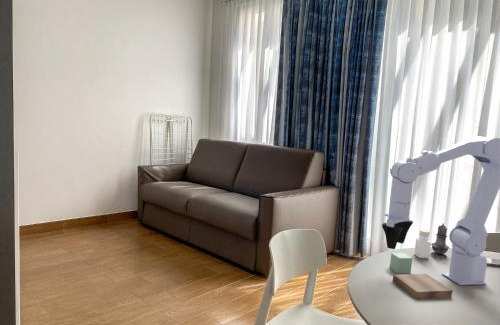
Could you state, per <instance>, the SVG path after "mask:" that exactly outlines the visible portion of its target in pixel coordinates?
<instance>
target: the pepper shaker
mask: <svg viewBox="0 0 500 325" xmlns="http://www.w3.org/2000/svg"><path fill="white" fill-rule="evenodd" d="M430 232H431V231H430V230H427V229H422V228H421V229H419V234H418V235H419V236H418V237H417V238H416V239H415V245H414V251H413V252H414V255H415V256H416V257H417V258H419V259H429V258H430V255H431V252H430V251H431V247H432V245H431V244H432V242H431V240H429V238H430Z"/></svg>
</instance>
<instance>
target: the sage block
mask: <svg viewBox="0 0 500 325" xmlns="http://www.w3.org/2000/svg"><path fill="white" fill-rule="evenodd" d="M412 264H413V257H412V256H410V255H409V254H407V253H405V252H391V255H390V263H389V269H391V270H392V269H393V270H392V271H394V272H397V273H396V274H412V273H411V272H412Z"/></svg>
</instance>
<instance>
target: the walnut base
mask: <svg viewBox="0 0 500 325" xmlns="http://www.w3.org/2000/svg"><path fill="white" fill-rule="evenodd" d="M392 275H393V276H392V282H394V284H396V285H397V286H399V287H400V288H401V289H402V290H403V291H405V292H406V293H408V294H409V295H410V296H412V297H413V298H414V299H416V300H421V299H422V300H424V299H443V298H444V299H445V298H452V295H453V289H451V288H449V287H448V286H446V284H445V285H444V284H443V283H442V282H440V281H438V280H437V279H435V278H434V277H432V276H430V275H429V274H427V273H399V274H392Z"/></svg>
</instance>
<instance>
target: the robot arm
mask: <svg viewBox="0 0 500 325" xmlns="http://www.w3.org/2000/svg"><path fill="white" fill-rule="evenodd" d="M464 156H472V158H474V159H475V160H476V161H477V162H479V164H480V166H481V167H482V169H483V171H482V173H481V177H480V178H479V181H478V184H477V187H476V188H475V191H474V194H473V196H472V200H470V203H469V206H468V208H467V211H466V214H465V215H464V217H463V218H462V219H460V220H458V221H457V223H456V225H455V226H454V228H452V229H451V230H450V231H449V232H450V233H449V241H450V242H451V244H452V245H451V247H452V249H451V256H450V263H449V269H448V272H442V274H441V275H442V276H444V277H446V278H448V279H449V280H451V281H453V283H456V284H458V285H460V286H471V285H476V286H477V285H487V282H486V281H485V278H486V272H487V267H488V266H487V265H488V261H487V257H486V256H485V254H484V253H483V252H484V251H485V250H486V249H487V248H486V247H487V238H488V235H489V233H488V230H487V228H486V227H485V224H486V222H487V219H488V218H489V214H490V213H491V210H492V207H493V205H494V202H495V200H496V198H497V195H498V193H499V190H500V137H486V136H482V135H476V136H475V135H474V137H472V138H471V137H470V138H467V139H464V140H462V141H460V142H458V143H455V144H453V145H451V146H448V147H447V148H444V149H441V150H440V151H437V152H434V151H431V150H430V151H428V150H423V151H421V154H418V155H416V156H414V157H413V156H412V157H407V158H406V160H405V161H404V160H398V161H396V162H395V163H393V165H392V166H391V168H390V170H389V173H390V175H391V177H392V183H391V190H390V191H391V192H390V201H389V209H388V212H385V213H384V217H387V219H386V222H383V223H382V224H381V227H382V229H383V232H384V235H385V241H386V249H387V248H388V249H391V250H395V249H396V247H397V243H398V244H402V245H403V244H404V243H405V241H406V238H407V234H408V232H409V230H410V228H411V227H412V226H413V225H414V224H413V223H414V221H413V220H410V219H411V218H410V215H411V214H410V213H411V212H410V211H411V203H412V195H413V186H414V182H415V181H416V180H417V179H418V177H420V176H421V177H422V176H423V175H426V174H428V173H431V172H433V171H436V170H438V169H439V168H440V167H441V164H443V163H446V162H448V161H452V160H455V159H458V158H461V157H464Z"/></svg>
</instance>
